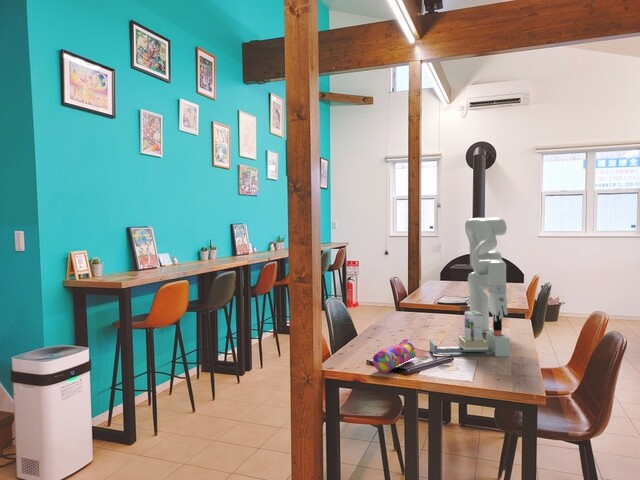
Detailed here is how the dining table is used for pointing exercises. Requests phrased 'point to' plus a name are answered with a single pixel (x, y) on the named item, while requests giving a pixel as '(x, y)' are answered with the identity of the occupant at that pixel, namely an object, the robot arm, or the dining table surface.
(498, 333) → the button
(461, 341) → the carriage
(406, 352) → the pencil case
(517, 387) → the dining table surface
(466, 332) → the syrup box
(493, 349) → the housing
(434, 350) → the rail
